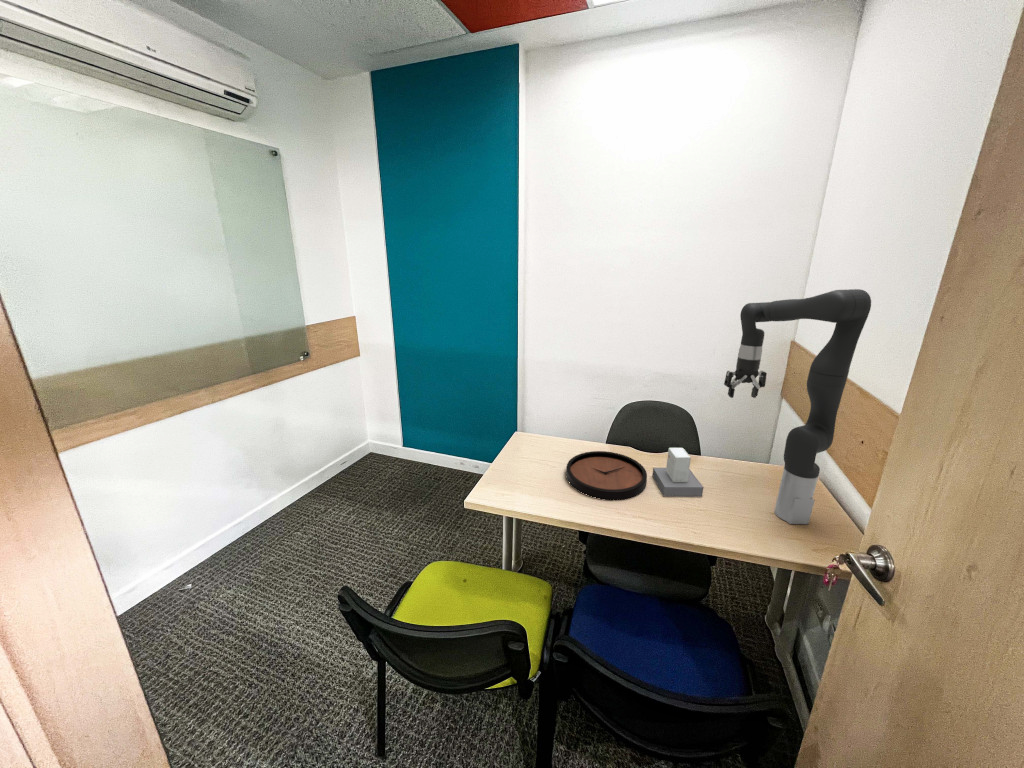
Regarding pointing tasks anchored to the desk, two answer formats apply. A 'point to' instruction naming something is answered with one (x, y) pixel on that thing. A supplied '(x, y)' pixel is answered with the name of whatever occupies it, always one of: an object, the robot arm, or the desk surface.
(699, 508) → the desk surface
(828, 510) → the desk surface
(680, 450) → the small box
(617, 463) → the wall clock
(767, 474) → the desk surface
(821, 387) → the robot arm
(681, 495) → the base block
